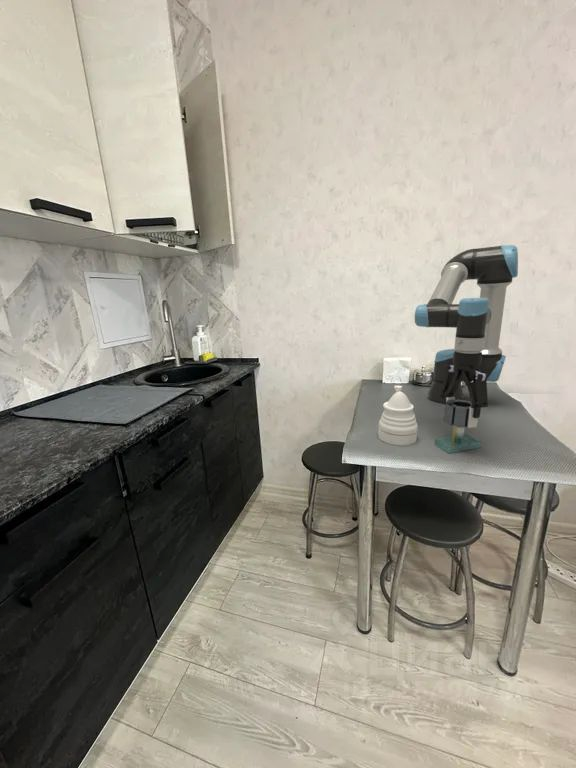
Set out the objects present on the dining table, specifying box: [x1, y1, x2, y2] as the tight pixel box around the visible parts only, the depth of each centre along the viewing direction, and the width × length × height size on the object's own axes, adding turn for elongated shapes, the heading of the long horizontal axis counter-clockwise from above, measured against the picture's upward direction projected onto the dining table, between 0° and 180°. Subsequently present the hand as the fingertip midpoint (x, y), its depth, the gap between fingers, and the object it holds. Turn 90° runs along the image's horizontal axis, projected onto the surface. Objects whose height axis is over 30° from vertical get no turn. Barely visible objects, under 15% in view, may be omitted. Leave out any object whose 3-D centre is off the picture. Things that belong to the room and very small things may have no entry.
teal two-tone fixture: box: [434, 426, 482, 454], centre depth 101 cm, size 12×6×9 cm, turn 104°
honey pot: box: [377, 385, 419, 446], centre depth 108 cm, size 13×13×18 cm
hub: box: [443, 399, 472, 429], centre depth 99 cm, size 9×9×6 cm
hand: (459, 421), depth 100 cm, fingers closed on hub, 9 cm apart
